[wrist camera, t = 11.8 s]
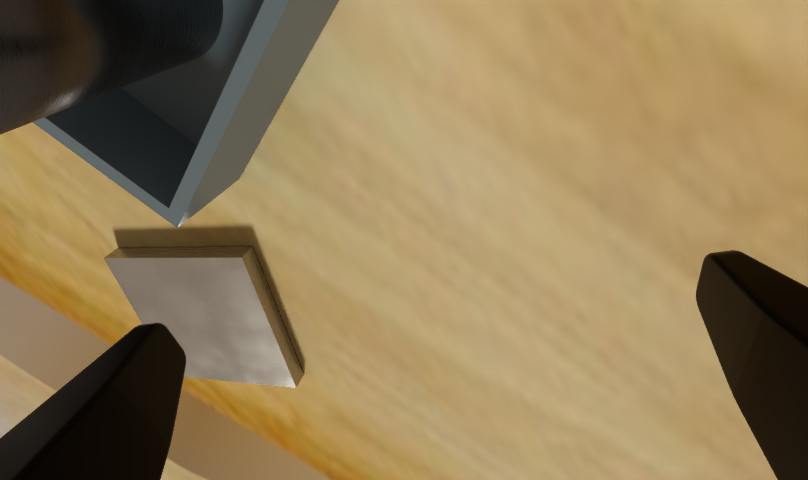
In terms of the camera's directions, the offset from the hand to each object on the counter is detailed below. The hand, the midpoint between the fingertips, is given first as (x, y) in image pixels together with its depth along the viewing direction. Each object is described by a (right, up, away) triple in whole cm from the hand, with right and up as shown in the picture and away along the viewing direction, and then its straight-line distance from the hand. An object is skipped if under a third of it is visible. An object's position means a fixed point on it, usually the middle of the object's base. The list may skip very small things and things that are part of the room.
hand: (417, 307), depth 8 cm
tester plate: (-11, -3, +20) cm, 23 cm away
